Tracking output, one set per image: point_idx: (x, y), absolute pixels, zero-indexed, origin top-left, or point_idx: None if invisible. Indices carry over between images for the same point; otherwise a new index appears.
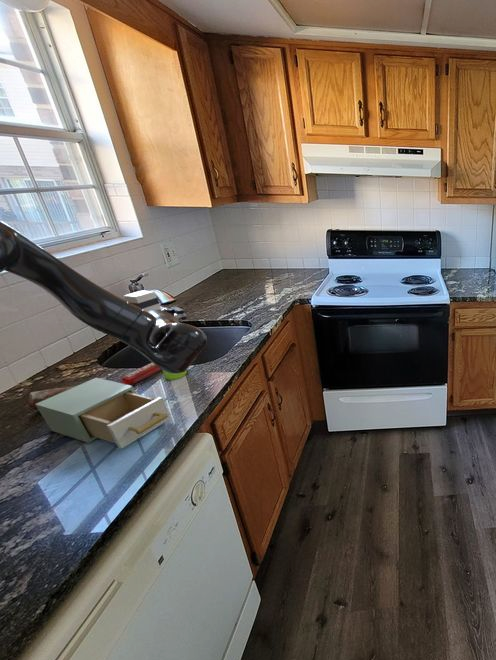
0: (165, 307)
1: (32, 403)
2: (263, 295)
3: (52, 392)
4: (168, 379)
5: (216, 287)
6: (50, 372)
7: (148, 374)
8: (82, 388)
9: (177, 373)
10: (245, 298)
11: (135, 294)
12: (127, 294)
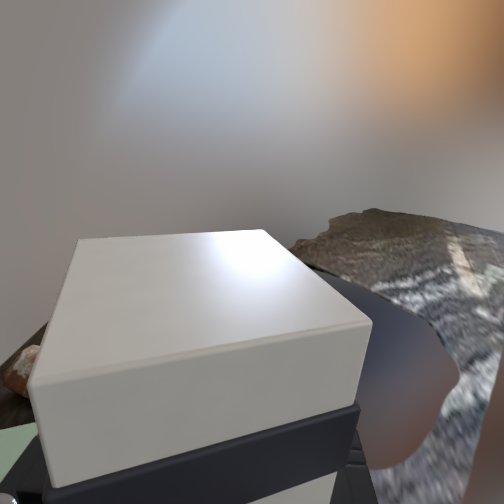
0: (357, 442)
1: (7, 378)
2: (450, 265)
3: None
4: None
5: (372, 224)
6: None
7: None
8: (10, 456)
9: None
10: (417, 260)
11: (148, 276)
12: (119, 237)
